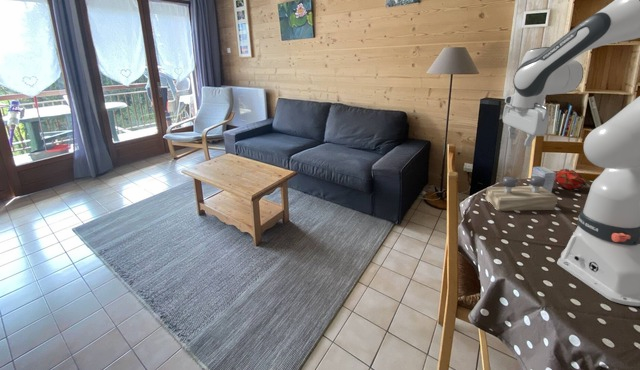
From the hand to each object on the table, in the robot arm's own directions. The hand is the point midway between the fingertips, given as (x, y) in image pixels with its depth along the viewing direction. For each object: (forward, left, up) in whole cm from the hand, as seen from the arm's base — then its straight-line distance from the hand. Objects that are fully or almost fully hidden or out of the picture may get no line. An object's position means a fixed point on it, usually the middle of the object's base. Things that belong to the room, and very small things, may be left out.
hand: (518, 142), depth 110 cm
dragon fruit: (+14, -33, -24) cm, 43 cm away
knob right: (0, -10, -21) cm, 23 cm away
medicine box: (+13, -21, -24) cm, 34 cm away
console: (0, -5, -24) cm, 24 cm away
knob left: (0, 0, -21) cm, 21 cm away
